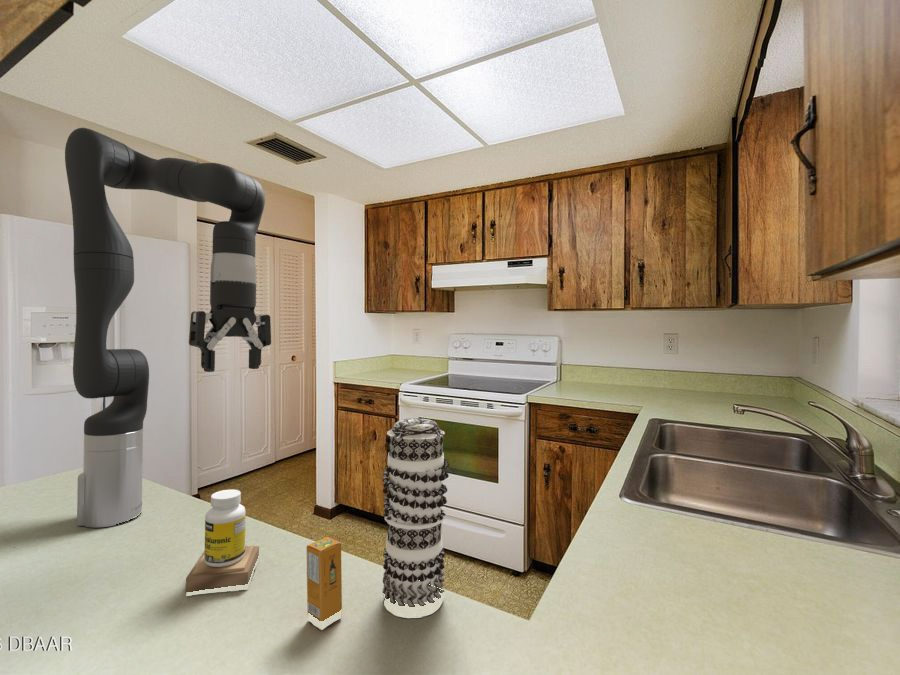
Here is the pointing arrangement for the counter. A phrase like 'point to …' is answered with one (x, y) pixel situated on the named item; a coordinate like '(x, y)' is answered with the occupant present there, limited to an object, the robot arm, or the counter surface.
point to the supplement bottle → (225, 529)
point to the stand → (222, 572)
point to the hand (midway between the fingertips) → (232, 370)
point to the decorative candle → (414, 512)
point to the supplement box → (324, 578)
